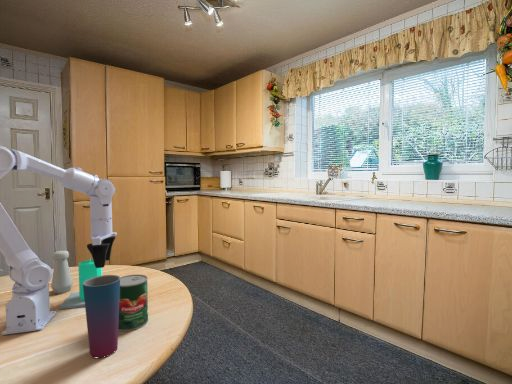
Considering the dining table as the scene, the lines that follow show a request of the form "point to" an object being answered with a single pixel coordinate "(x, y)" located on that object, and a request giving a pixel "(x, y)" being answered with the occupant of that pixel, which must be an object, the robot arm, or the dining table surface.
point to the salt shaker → (61, 273)
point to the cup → (102, 313)
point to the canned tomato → (133, 302)
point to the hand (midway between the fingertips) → (102, 263)
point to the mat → (73, 302)
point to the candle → (87, 274)
